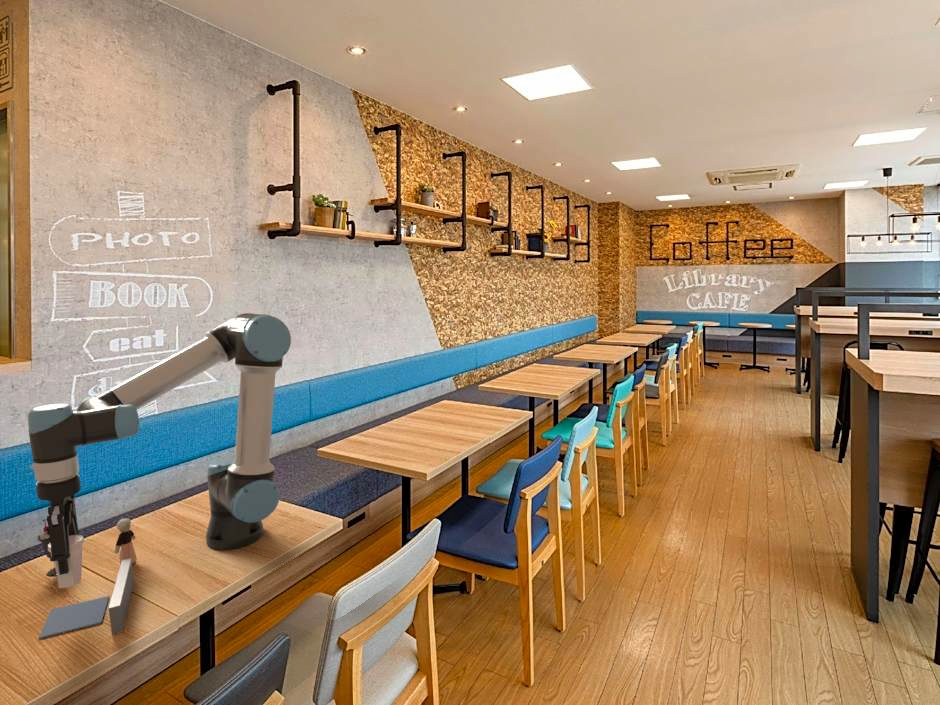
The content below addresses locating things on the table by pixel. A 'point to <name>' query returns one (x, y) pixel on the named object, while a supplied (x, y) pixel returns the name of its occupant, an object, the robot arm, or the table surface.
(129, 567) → the divider wall
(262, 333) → the robot arm
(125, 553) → the grandmother figurine
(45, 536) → the sundae
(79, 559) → the smoothie
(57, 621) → the mat
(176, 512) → the table surface
